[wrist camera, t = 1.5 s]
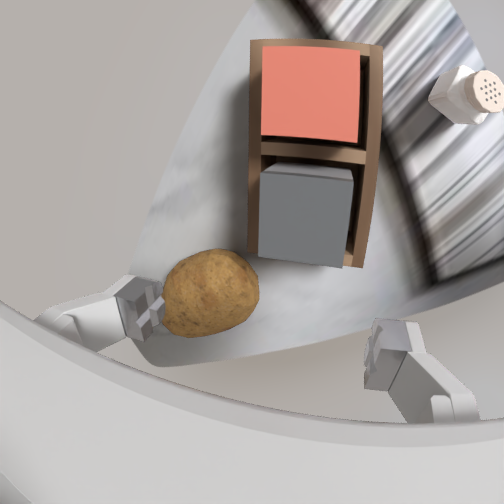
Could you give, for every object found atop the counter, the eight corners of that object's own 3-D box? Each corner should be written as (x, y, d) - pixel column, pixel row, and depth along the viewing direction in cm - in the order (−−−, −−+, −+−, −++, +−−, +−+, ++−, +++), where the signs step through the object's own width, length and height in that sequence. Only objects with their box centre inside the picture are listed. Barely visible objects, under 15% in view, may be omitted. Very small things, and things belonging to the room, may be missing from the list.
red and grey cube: (355, 68, 19) (359, 50, 14) (352, 138, 21) (357, 142, 16) (280, 63, 20) (262, 46, 15) (279, 132, 23) (261, 134, 18)
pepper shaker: (440, 71, 20) (479, 53, 12) (470, 96, 20) (517, 90, 12) (424, 101, 22) (460, 93, 14) (455, 125, 22) (499, 130, 14)
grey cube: (350, 168, 22) (353, 182, 17) (342, 236, 25) (342, 268, 20) (278, 161, 24) (260, 172, 19) (275, 228, 27) (258, 256, 21)
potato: (163, 276, 39) (129, 308, 32) (231, 215, 33) (200, 242, 26) (210, 327, 41) (186, 365, 34) (287, 279, 34) (272, 321, 27)
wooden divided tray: (372, 64, 22) (382, 46, 16) (358, 237, 30) (362, 268, 24) (270, 57, 24) (250, 39, 18) (266, 225, 32) (247, 252, 26)
